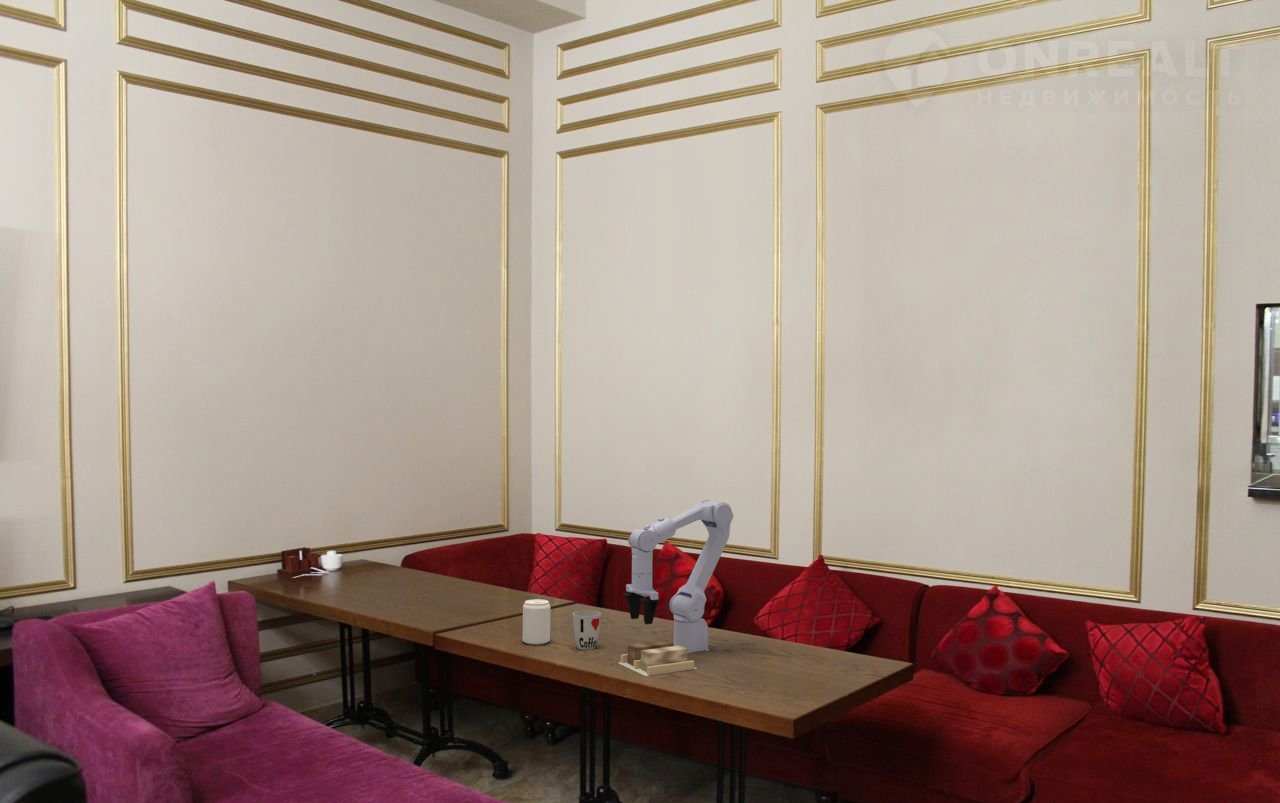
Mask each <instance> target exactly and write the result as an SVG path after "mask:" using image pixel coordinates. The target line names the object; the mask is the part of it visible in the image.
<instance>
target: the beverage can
mask: <svg viewBox="0 0 1280 803" xmlns="http://www.w3.org/2000/svg"><path fill="white" fill-rule="evenodd" d="M550 640H551V604H550V601H549V600H547V599H543V598H542V599H539V598H536V599H533V598H532V599H527V600H525V601H524V603H523V606H522V642H524V643H526V644H527V645H533V646H534V645H535V646H536V645H537V646H539V645H545V644H547V643H549V642H550Z"/></svg>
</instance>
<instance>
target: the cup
mask: <svg viewBox="0 0 1280 803" xmlns="http://www.w3.org/2000/svg"><path fill="white" fill-rule="evenodd" d="M601 618H602V613H601V612H600V611H597V610H578V611H574V612H572V624H573V626H572V627H573V633H574V639H575V644H576V646H577V649H578V650H580V649H581V651H592V649H593V650H595V649H596V647H597V643H598V640H599V635H600V629H601V620H602V619H601Z"/></svg>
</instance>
